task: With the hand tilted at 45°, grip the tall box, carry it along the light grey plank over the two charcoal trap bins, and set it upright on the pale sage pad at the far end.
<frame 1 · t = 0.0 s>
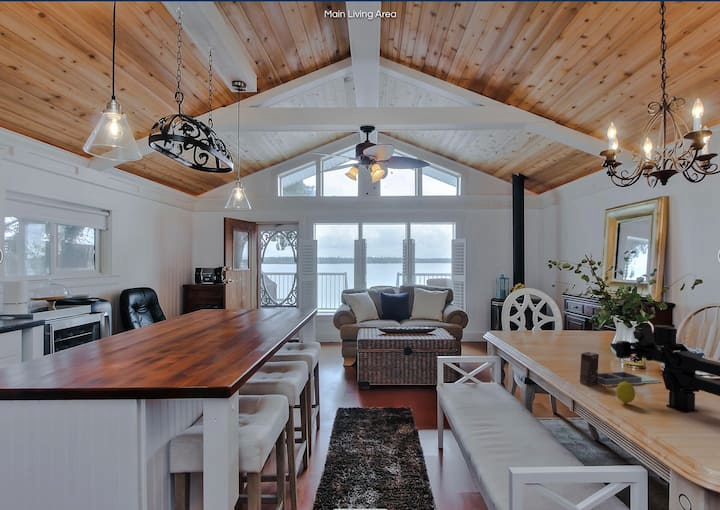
hand: (620, 344, 169), 17 cm above the table, tool horizontal, fingers open, 9 cm apart
lemon: (625, 404, 149), on the table
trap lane: (616, 381, 175), on the table
box: (589, 383, 172), on the table
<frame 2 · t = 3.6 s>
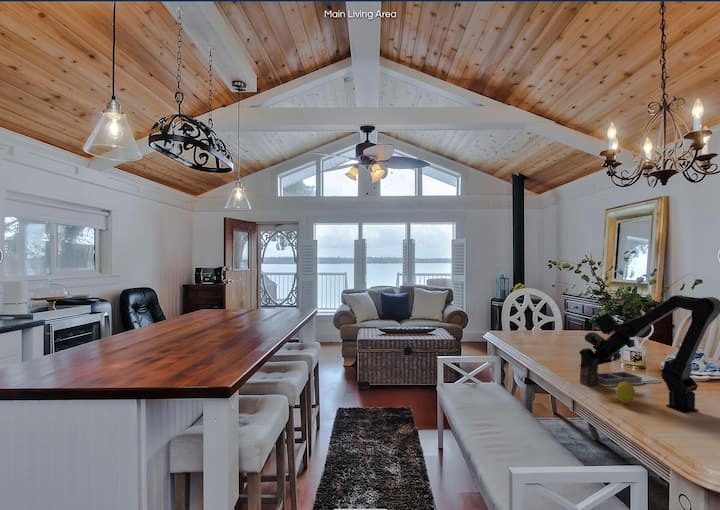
hand: (586, 366, 173), 7 cm above the table, tool tilted 45°, fingers closed on box, 6 cm apart
box: (589, 383, 172), on the table, touching gripper
everything else where it was.
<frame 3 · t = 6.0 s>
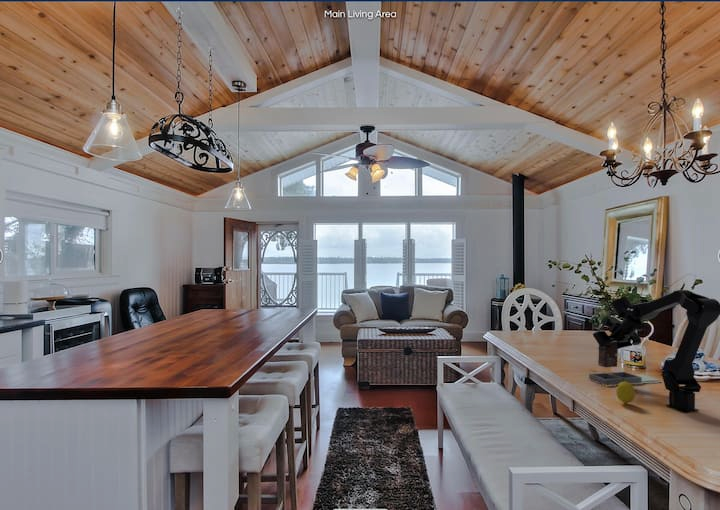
hand: (605, 349, 178), 12 cm above the table, tool tilted 45°, fingers closed on box, 6 cm apart
box: (608, 366, 177), point 5 cm above the table, touching gripper
everything else where it was.
when the fingers open (9 cm above the table, at t = 8.4 s): box drops 1 cm, resting on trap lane.
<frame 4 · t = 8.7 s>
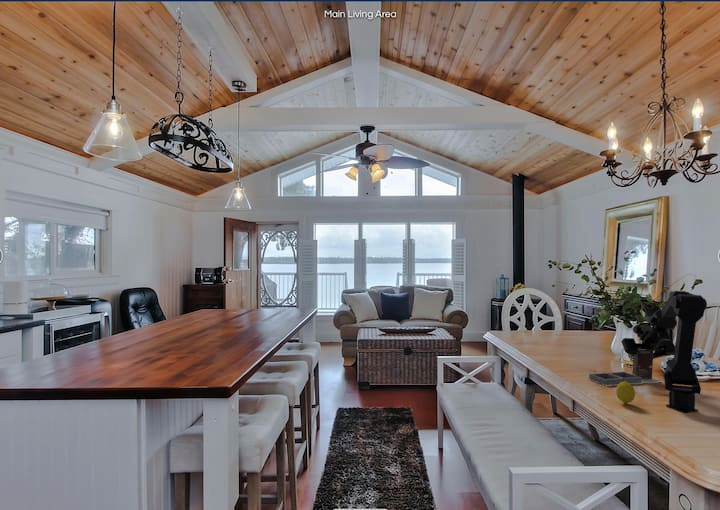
hand: (640, 357, 179), 9 cm above the table, tool tilted 45°, fingers open, 9 cm apart
box: (642, 377, 178), point 1 cm above the table, touching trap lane
everything else where it was.
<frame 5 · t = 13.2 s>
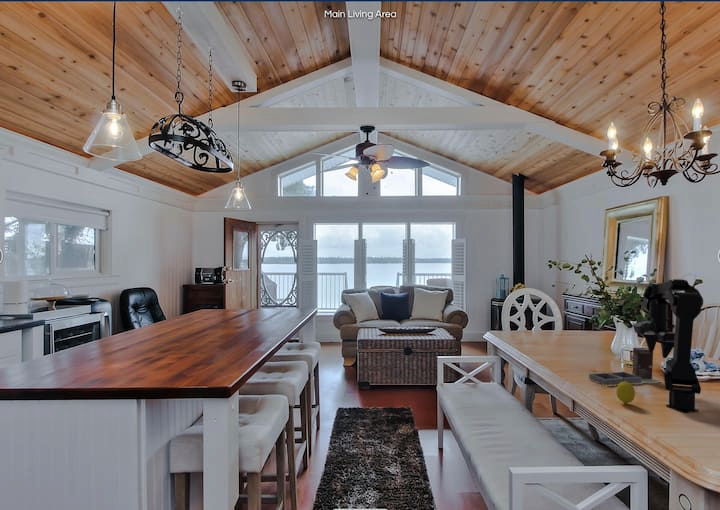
hand: (657, 355, 166), 13 cm above the table, tool pointing down, fingers open, 9 cm apart
nothing on the table moved.
at the end: box inside the target area (0.1 cm from its centre), point 0.7 cm above the table; box tilted 0°; the gripper is holding nothing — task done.
